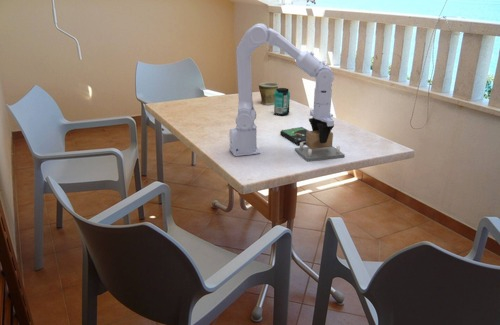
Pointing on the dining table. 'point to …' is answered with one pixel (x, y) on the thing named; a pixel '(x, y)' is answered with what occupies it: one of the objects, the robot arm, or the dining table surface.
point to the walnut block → (317, 140)
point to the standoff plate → (319, 153)
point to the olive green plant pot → (268, 93)
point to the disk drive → (295, 135)
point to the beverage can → (282, 102)
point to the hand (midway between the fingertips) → (320, 140)
